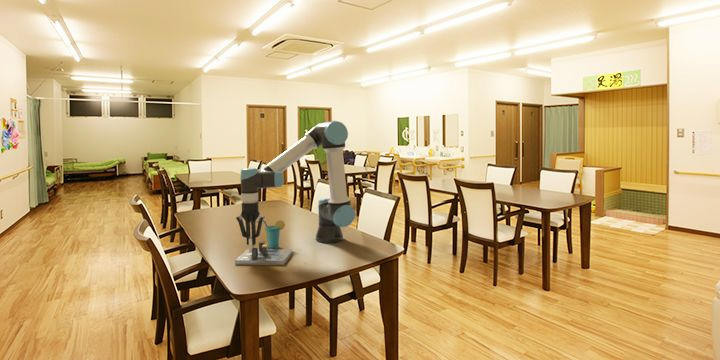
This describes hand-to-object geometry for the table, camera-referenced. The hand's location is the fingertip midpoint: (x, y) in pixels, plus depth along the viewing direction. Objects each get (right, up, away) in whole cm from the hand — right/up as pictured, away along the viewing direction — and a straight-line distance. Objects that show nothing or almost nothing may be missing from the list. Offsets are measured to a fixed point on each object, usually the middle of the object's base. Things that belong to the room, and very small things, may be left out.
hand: (251, 251), depth 186 cm
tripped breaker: (+6, -1, 0) cm, 6 cm away
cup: (+5, -2, +19) cm, 20 cm away
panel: (+6, -3, 0) cm, 7 cm away
